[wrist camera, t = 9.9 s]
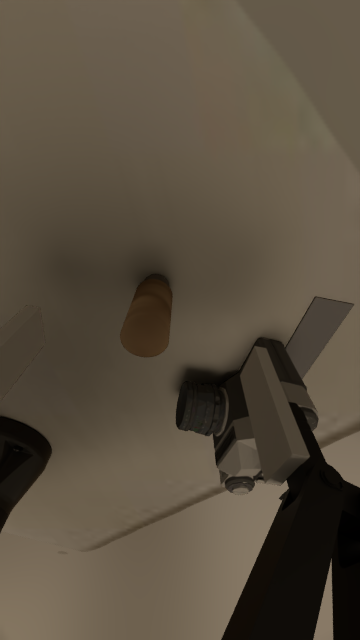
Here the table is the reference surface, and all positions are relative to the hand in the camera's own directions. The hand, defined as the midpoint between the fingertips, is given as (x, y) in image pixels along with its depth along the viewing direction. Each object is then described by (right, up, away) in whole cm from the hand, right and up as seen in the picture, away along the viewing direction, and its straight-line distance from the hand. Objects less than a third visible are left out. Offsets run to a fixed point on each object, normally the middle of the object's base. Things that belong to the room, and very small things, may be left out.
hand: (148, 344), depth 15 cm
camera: (+7, -6, +15) cm, 18 cm away
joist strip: (+15, -4, +13) cm, 20 cm away
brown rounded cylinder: (0, +5, +7) cm, 9 cm away
